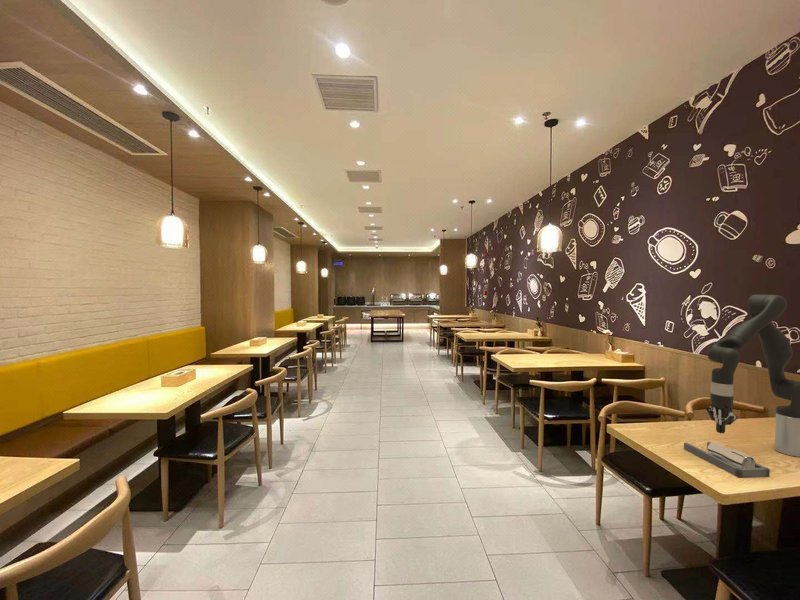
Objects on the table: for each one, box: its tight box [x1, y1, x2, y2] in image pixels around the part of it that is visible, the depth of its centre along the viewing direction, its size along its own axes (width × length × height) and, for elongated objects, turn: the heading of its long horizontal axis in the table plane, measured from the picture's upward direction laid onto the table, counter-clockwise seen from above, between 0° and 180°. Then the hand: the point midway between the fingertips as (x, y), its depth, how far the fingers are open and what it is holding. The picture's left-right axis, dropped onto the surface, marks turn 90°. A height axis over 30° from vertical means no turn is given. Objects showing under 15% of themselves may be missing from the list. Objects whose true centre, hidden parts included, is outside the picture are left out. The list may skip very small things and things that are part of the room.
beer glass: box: [706, 441, 757, 468], centre depth 154 cm, size 7×7×15 cm
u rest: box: [683, 441, 771, 479], centre depth 155 cm, size 13×26×3 cm, turn 4°
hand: (720, 432), depth 157 cm, fingers closed
